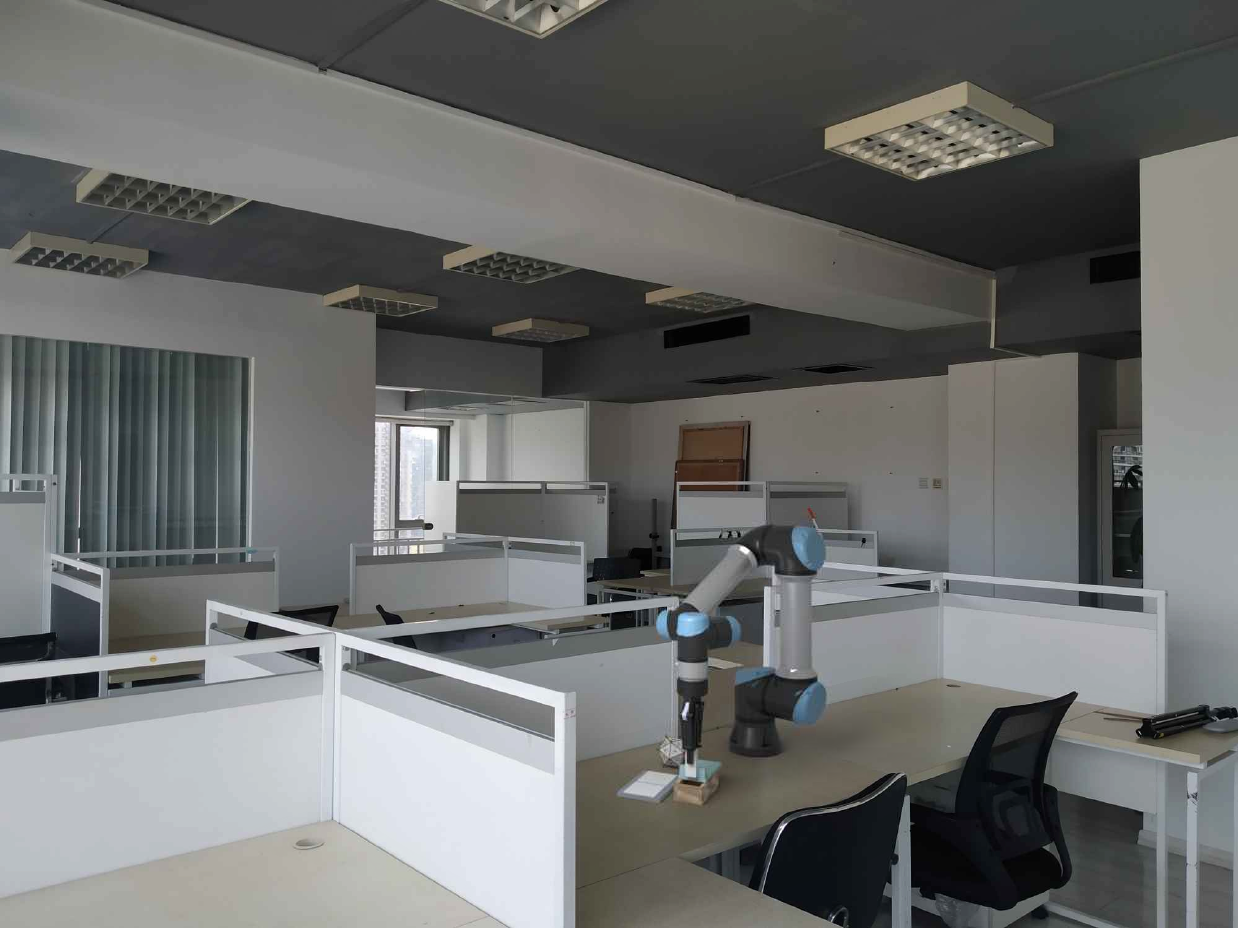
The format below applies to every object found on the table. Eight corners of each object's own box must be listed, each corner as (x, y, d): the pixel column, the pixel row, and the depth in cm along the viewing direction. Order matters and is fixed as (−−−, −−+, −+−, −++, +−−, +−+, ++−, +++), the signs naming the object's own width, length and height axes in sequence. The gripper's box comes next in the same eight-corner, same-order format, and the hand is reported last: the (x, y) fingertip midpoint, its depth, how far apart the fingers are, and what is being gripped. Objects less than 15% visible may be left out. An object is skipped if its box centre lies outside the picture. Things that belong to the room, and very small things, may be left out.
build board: (643, 773, 234) (643, 769, 234) (683, 779, 230) (683, 775, 230) (617, 796, 218) (617, 791, 218) (659, 802, 213) (659, 797, 213)
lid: (695, 761, 231) (695, 749, 231) (722, 765, 228) (722, 753, 228) (678, 778, 218) (678, 765, 218) (705, 782, 215) (706, 769, 216)
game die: (674, 783, 239) (668, 759, 233) (653, 764, 245) (647, 740, 239) (698, 762, 242) (693, 738, 237) (677, 744, 248) (672, 720, 243)
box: (691, 782, 228) (692, 766, 228) (718, 786, 225) (718, 770, 225) (673, 800, 215) (673, 783, 215) (701, 804, 212) (701, 787, 213)
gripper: (686, 670, 224) (685, 765, 224) (668, 681, 212) (667, 782, 212) (715, 673, 221) (714, 769, 221) (699, 684, 209) (698, 786, 209)
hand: (691, 775), depth 216 cm, fingers closed
